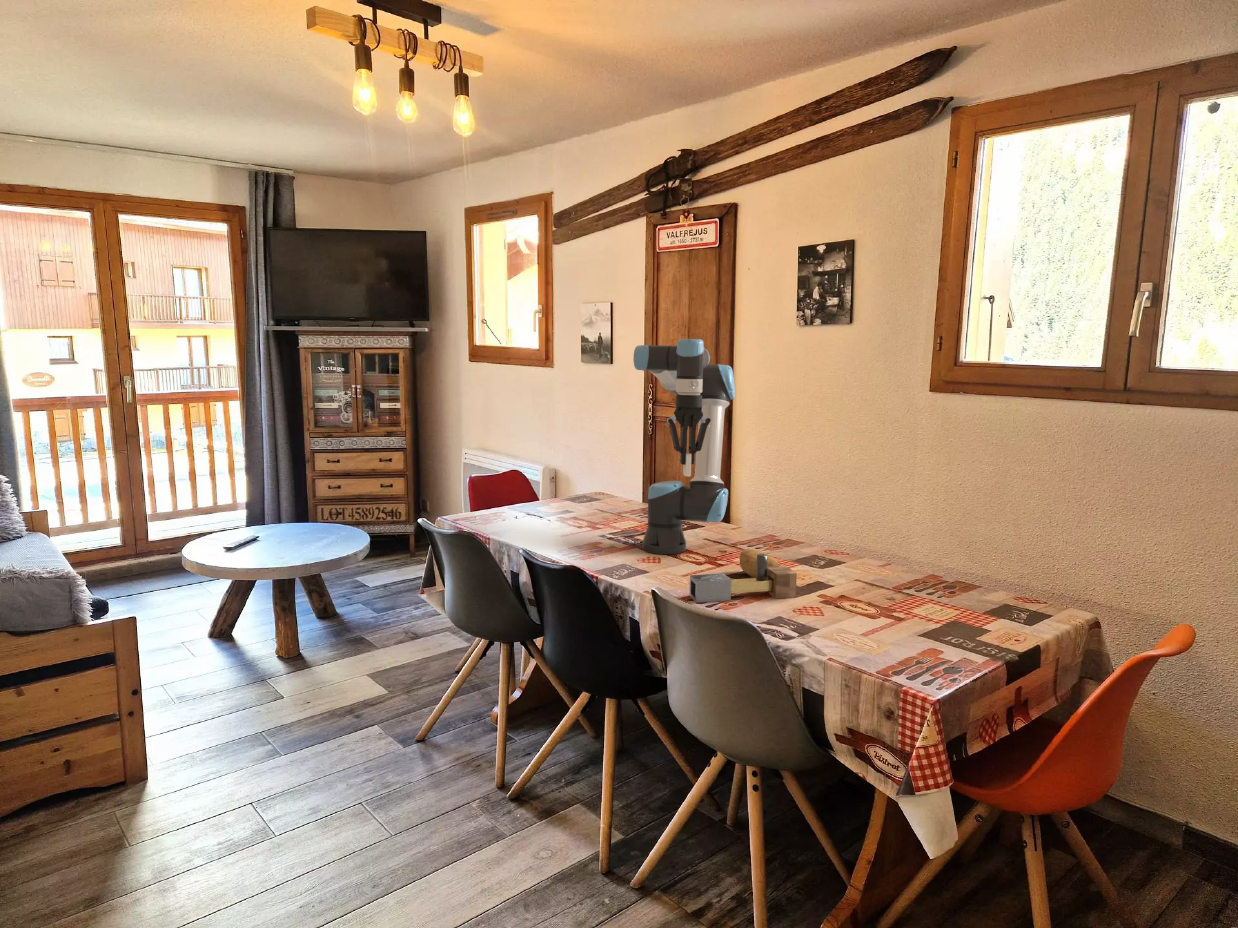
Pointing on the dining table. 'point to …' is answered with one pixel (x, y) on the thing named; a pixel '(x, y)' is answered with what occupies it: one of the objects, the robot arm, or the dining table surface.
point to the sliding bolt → (755, 579)
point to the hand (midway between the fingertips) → (686, 475)
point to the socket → (782, 581)
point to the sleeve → (710, 588)
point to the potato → (753, 561)
